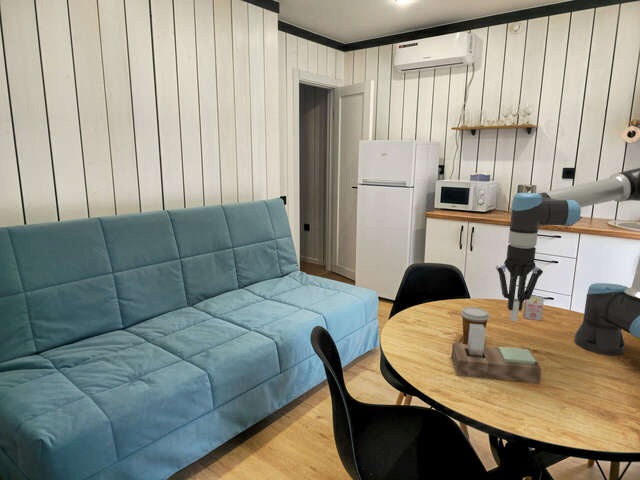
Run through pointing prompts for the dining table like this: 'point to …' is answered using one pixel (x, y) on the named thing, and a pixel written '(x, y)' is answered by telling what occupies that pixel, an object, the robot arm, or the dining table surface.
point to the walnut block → (492, 366)
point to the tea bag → (533, 308)
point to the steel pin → (476, 340)
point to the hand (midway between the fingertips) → (513, 319)
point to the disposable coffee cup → (473, 319)
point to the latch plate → (517, 355)
